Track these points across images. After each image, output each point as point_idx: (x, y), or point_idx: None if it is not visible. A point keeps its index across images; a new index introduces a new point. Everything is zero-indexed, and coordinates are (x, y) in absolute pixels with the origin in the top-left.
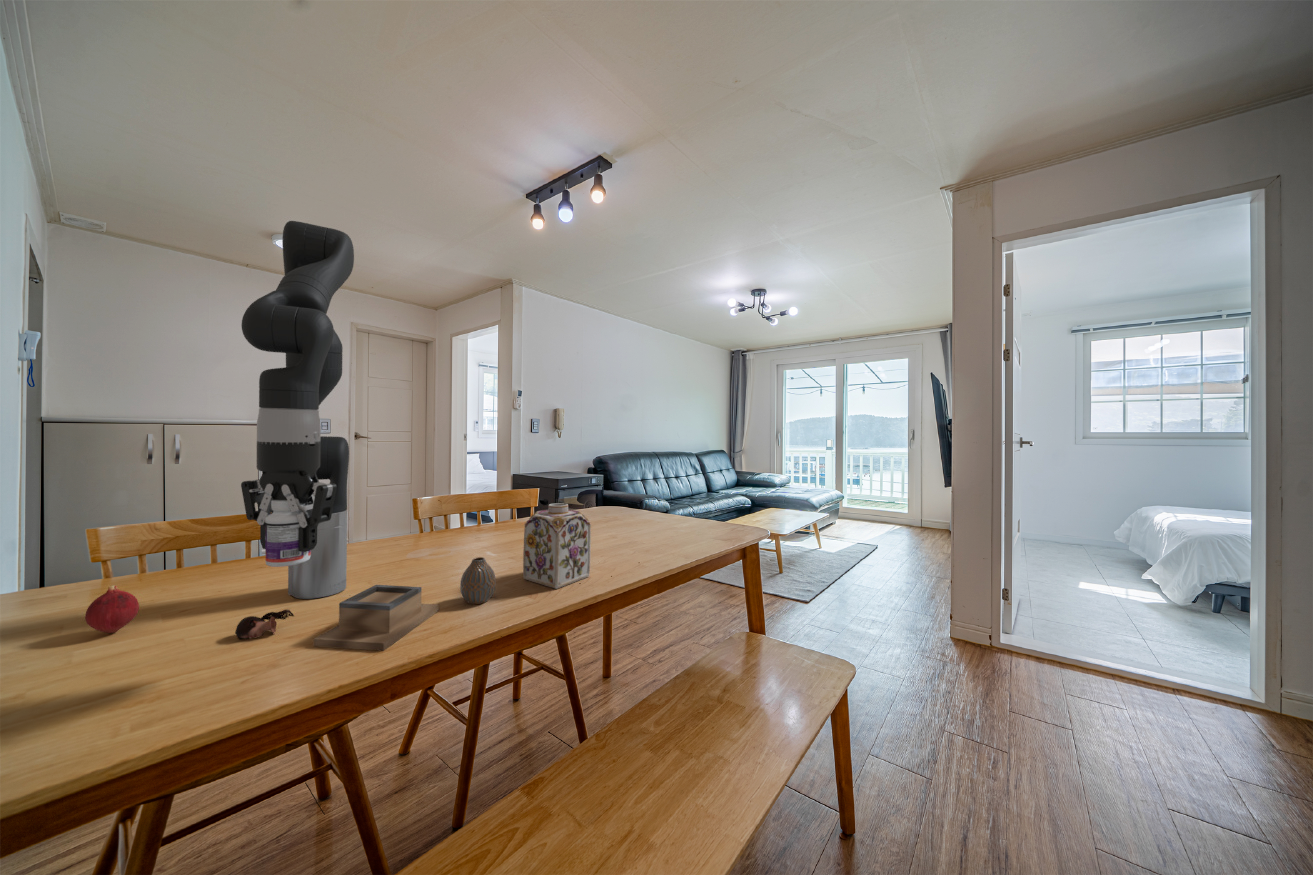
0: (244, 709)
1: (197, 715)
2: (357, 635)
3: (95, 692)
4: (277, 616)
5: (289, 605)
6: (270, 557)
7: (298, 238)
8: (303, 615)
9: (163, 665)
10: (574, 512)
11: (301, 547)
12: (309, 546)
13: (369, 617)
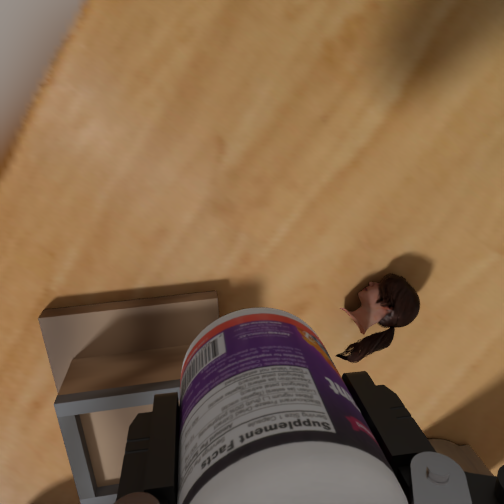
0: (110, 52)
1: (184, 16)
2: (134, 332)
3: (466, 54)
4: (363, 340)
5: (426, 412)
6: (265, 323)
7: None
8: None
9: (440, 163)
10: None
11: (161, 404)
12: (133, 422)
13: (119, 373)
